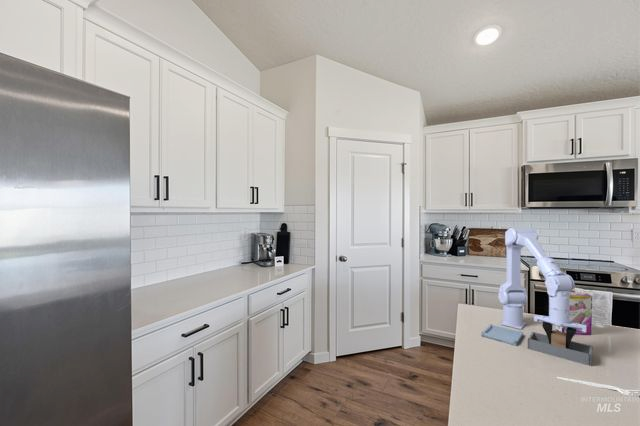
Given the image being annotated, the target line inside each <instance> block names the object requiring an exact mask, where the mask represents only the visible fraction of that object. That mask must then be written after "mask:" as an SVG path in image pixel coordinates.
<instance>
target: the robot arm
mask: <svg viewBox="0 0 640 426" xmlns="http://www.w3.org/2000/svg"><path fill="white" fill-rule="evenodd" d="M504 233H505V235H504V236H505V237H504V245H505V246H506V260H505V261H506V262H505V264H506V269H505V270H506V271H505V272H506V273H505V274H506V277H505V282H504V283H503V284H500V286H499V290H498V294H497V295H498V296H497V297H498V300H499V301H500V304H502V321H501V322H500V323H499V324H500V325H502V326H506V327H510V328H514V329H519V330H522V329H523V328H524V327H525V325H526V322H525V321H524V308H523V307H524V306H525V305H526V303H527V302H528V295H527V292H526V291H527V289H526V288H525V286H523V285H522V284H521V260H522V259H521V258H522V257H521V250H522V248H524V247H526V248H527V249H528V250H529V251H530V253H531V254H532V255H533V256H534V258H535V259H536V260H537V261H536V266H537V269H539V271H540V273H541V274H542V275H543V277H544V278H545V280H544V284H545V285H544V286H545V287H546V290H547V292H546V293H547V295H548V316H544V315H537V314H535V315H533V321H534V322H536V323H537V322H539V323H542V325H541V326H542V328H543V330H544V332H545V335H547V337H548V340H549V344H551V333H552V331H553V326H555V325H557V326H561V327H566V328H567V329H566V348H567V349H569V344H570V341H572V339H573V337H574V336H575V335H576V334H575V333H576V330H580V331H582V332H586V331H587V326H586V325H582V324H579V323H575V322H572V321H570V292H571V291H573V290H574V288H575V281H574V279H573V277H572V276H571V275H569V274H567V273H566V272H563V271H562V269H561V268H560V266H559V265H558V264H557V262H556V261H555V259H554V258H552V257H549V256H548V255H547V254H546V252H545V251H544V249H543V247H542V245H541V244H540V242H539V234H538V233H537V231H536V229H534V228H533V227H528V228H526V227H523V228H521V227H519V228H518V227H517V228H515V227H510V228H508V229H507V230H506V231H505V232H504Z"/></svg>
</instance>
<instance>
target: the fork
mask: <svg viewBox="0 0 640 426" xmlns="http://www.w3.org/2000/svg"><path fill="white" fill-rule="evenodd" d="M556 378H557V379H560V380H564V381H568V382H569V381H570V382H572V383H578V384H583V385H587V386H591V387H597V388H602V389H607V390H614V391H617V392H619V393H621V394H623V395H626V396H630V395H629V393H631V392H629V391H639V390H640V389H635V390H634V389H624V388H621V387H618V386H614V385H610V384H604V383H598V382H597V383H596V382H590V381H585V380H578V379H572V378H567V377H562V376H561V377H560V376H556ZM632 393H633V392H632ZM634 393H638V392H634Z"/></svg>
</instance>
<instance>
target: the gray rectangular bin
mask: <svg viewBox="0 0 640 426" xmlns="http://www.w3.org/2000/svg"><path fill="white" fill-rule="evenodd" d="M527 349H529V350H531V351H535V352H538V353H542V354H547V355H551V356H554V357H558V358H561V359H564V360H568V361H571V362H575V363H579V364H582V365H587V366H589V367H591V366H592V362H593V354H594V353H593V352H594V351H593V349H594V347H593V345H589V344H585V343H581V342H576V341H573V340H571V341H570V344H569V349H567V348H563V347H559V346H555V345H551V344H549V340H548V337H547V334H543V333H540V332H534V331H531V333H530V335H529V336H528V337H527Z"/></svg>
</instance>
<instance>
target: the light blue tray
mask: <svg viewBox="0 0 640 426" xmlns="http://www.w3.org/2000/svg"><path fill="white" fill-rule="evenodd" d="M481 337H484V338H486V339H490V340H494V341H497V342H501V343H505V344H509V345H512V346H515V347H517V346H518V345H519V343H520V341H521V340H522V339H523V337H524V332H522V331H519V330H514V329H510V328H505V327H502V326H498V325H493V324H489V325H488V326H487V327H486V328H484V329H483V330H482V332H481Z"/></svg>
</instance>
